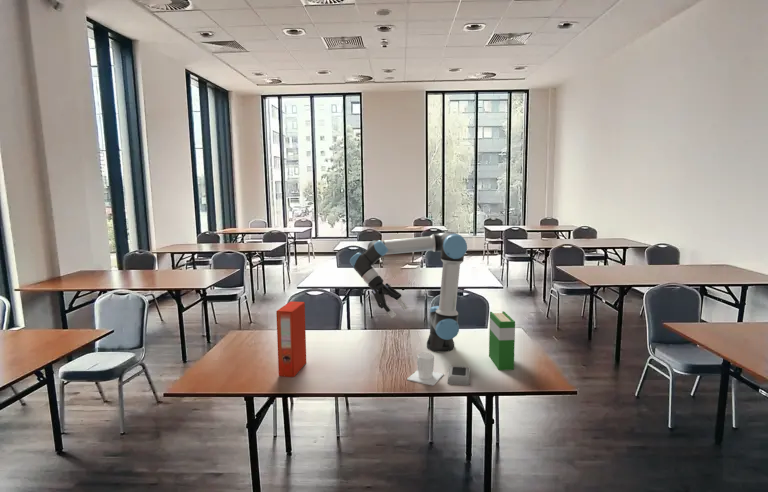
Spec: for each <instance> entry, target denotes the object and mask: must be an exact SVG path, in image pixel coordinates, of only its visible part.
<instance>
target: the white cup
mask: <svg viewBox="0 0 768 492" xmlns="http://www.w3.org/2000/svg"><path fill="white" fill-rule="evenodd" d="M416 362H417V363H416V365H417V370H418V376H419V377H420V378H422V379H430V378H432V377H433V372H434V366H435V365H434V364H435V355H434V354H433V353H431V352H420V353H417V355H416Z"/></svg>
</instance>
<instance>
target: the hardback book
mask: <svg viewBox="0 0 768 492" xmlns="http://www.w3.org/2000/svg"><path fill="white" fill-rule="evenodd" d="M488 334H489V335H488V337H489V338H488V341H489V343H488V357H489V358H490V360H491V362H492V363H493V365H495V367H496V369H497V370H498V371H514V369H515V340H516V339H515V338H516V337H515V336H516V321H515V320H514V319H513V318H512V317H511V316H510V315H509V314H508V313H506V312H505V311H502V312H498V313H497V312H495V313H494V312H492V311H489V333H488Z"/></svg>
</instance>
